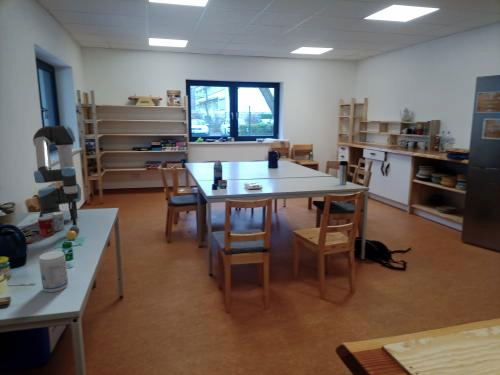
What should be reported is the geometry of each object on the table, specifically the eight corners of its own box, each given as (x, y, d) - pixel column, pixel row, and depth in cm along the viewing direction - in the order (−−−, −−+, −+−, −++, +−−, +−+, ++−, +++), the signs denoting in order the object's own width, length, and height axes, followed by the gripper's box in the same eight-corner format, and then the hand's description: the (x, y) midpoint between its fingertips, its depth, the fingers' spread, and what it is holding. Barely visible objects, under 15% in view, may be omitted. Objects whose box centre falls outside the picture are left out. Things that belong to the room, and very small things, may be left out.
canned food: (48, 237, 214) (46, 219, 212) (37, 236, 216) (34, 219, 214) (58, 233, 222) (55, 216, 219) (46, 232, 223) (44, 215, 221)
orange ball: (67, 231, 211) (64, 231, 205) (77, 230, 212) (75, 229, 207) (67, 240, 210) (65, 240, 205) (77, 239, 211) (75, 239, 206)
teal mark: (59, 240, 209) (59, 239, 209) (85, 237, 213) (85, 236, 213) (54, 248, 196) (54, 248, 196) (82, 245, 200) (81, 244, 200)
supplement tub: (39, 288, 151) (34, 255, 148) (62, 280, 158) (58, 248, 155) (48, 295, 145) (43, 261, 142) (72, 286, 152) (68, 254, 149)
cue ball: (68, 226, 213) (68, 236, 213) (78, 226, 215) (79, 235, 215) (69, 226, 219) (70, 235, 218) (79, 225, 220) (80, 234, 220)
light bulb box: (46, 233, 222) (44, 216, 220) (44, 230, 227) (41, 214, 225) (65, 229, 229) (63, 213, 227) (62, 227, 234) (60, 211, 232)
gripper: (66, 190, 222) (70, 226, 227) (62, 195, 210) (67, 233, 215) (79, 189, 224) (83, 225, 229) (76, 194, 212) (80, 231, 217)
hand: (75, 229), depth 222 cm, fingers closed
